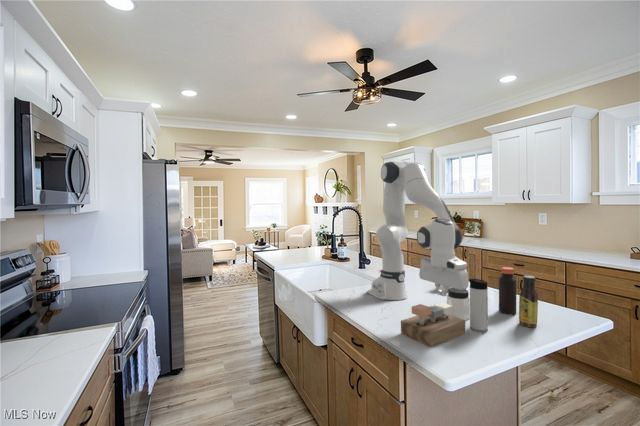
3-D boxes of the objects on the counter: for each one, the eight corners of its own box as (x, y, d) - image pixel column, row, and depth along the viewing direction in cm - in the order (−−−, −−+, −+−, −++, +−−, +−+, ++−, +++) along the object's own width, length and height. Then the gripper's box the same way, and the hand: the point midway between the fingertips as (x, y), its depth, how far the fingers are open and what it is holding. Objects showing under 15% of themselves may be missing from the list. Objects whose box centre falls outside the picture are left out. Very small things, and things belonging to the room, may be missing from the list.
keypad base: (401, 333, 122) (400, 320, 121) (434, 321, 132) (434, 310, 132) (431, 347, 110) (431, 333, 110) (465, 333, 121) (465, 320, 120)
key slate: (423, 327, 122) (423, 308, 122) (431, 324, 125) (431, 305, 124) (434, 331, 118) (434, 311, 117) (442, 328, 120) (442, 309, 120)
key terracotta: (411, 326, 118) (411, 306, 118) (420, 323, 121) (420, 304, 121) (422, 330, 114) (422, 310, 114) (431, 327, 117) (431, 307, 116)
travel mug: (465, 326, 126) (465, 277, 126) (481, 326, 127) (481, 276, 126) (474, 333, 120) (474, 281, 119) (491, 332, 121) (491, 280, 120)
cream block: (434, 323, 125) (434, 304, 125) (442, 320, 128) (442, 302, 128) (445, 327, 121) (445, 308, 121) (453, 324, 124) (453, 305, 124)
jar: (460, 323, 130) (460, 294, 130) (443, 317, 137) (443, 289, 137) (473, 318, 135) (473, 290, 135) (455, 312, 142) (455, 286, 142)
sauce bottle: (515, 322, 130) (515, 274, 129) (530, 321, 130) (531, 274, 129) (525, 328, 124) (525, 278, 123) (541, 328, 123) (541, 278, 123)
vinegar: (500, 314, 139) (500, 269, 138) (497, 309, 146) (497, 266, 145) (518, 315, 137) (518, 270, 136) (514, 310, 143) (514, 267, 142)
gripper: (416, 257, 131) (415, 289, 132) (461, 266, 113) (460, 304, 114) (426, 255, 134) (425, 287, 135) (471, 264, 117) (470, 301, 118)
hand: (441, 295), depth 124 cm, fingers closed
